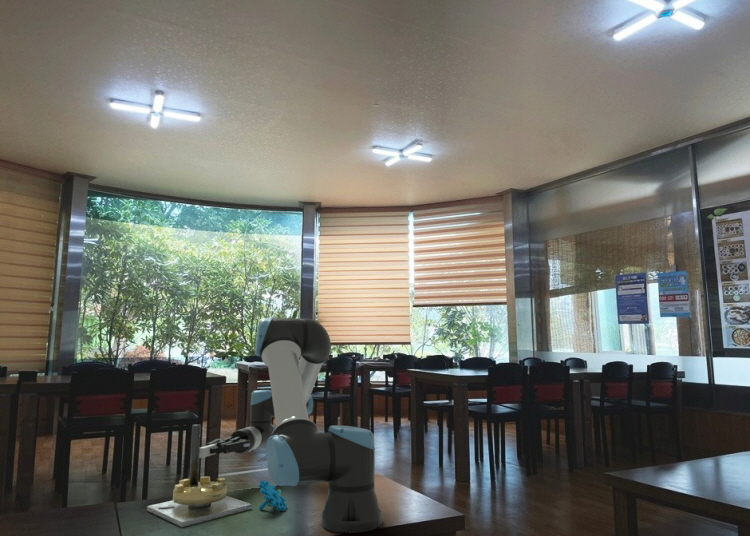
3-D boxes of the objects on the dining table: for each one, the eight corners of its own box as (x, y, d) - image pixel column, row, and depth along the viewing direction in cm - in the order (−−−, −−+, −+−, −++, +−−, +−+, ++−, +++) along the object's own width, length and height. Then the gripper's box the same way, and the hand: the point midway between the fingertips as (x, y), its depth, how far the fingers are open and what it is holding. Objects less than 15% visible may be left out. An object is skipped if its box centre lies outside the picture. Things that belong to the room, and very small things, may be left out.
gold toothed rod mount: (234, 498, 137) (237, 427, 140) (181, 508, 129) (185, 432, 132) (216, 487, 148) (218, 422, 152) (166, 496, 140) (170, 426, 143)
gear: (280, 510, 132) (257, 480, 135) (264, 527, 132) (241, 496, 135) (294, 504, 142) (272, 476, 146) (279, 519, 142) (257, 491, 145)
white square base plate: (251, 509, 139) (251, 498, 139) (181, 527, 124) (182, 515, 125) (214, 495, 152) (214, 485, 153) (147, 510, 138) (147, 499, 138)
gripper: (261, 452, 167) (219, 467, 145) (228, 450, 171) (181, 465, 149) (262, 429, 169) (220, 440, 147) (229, 427, 173) (182, 438, 151)
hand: (200, 453), depth 148 cm, fingers closed
